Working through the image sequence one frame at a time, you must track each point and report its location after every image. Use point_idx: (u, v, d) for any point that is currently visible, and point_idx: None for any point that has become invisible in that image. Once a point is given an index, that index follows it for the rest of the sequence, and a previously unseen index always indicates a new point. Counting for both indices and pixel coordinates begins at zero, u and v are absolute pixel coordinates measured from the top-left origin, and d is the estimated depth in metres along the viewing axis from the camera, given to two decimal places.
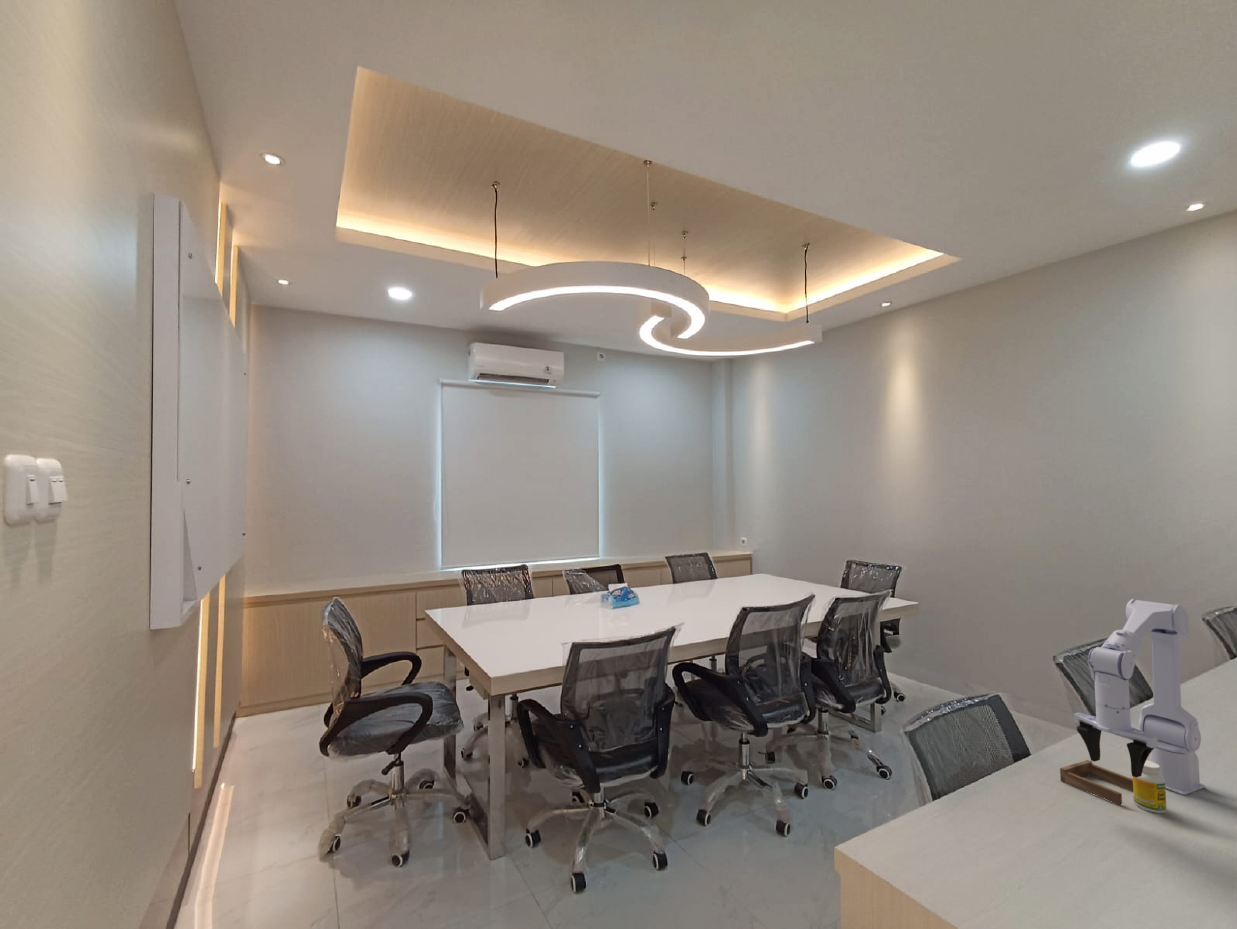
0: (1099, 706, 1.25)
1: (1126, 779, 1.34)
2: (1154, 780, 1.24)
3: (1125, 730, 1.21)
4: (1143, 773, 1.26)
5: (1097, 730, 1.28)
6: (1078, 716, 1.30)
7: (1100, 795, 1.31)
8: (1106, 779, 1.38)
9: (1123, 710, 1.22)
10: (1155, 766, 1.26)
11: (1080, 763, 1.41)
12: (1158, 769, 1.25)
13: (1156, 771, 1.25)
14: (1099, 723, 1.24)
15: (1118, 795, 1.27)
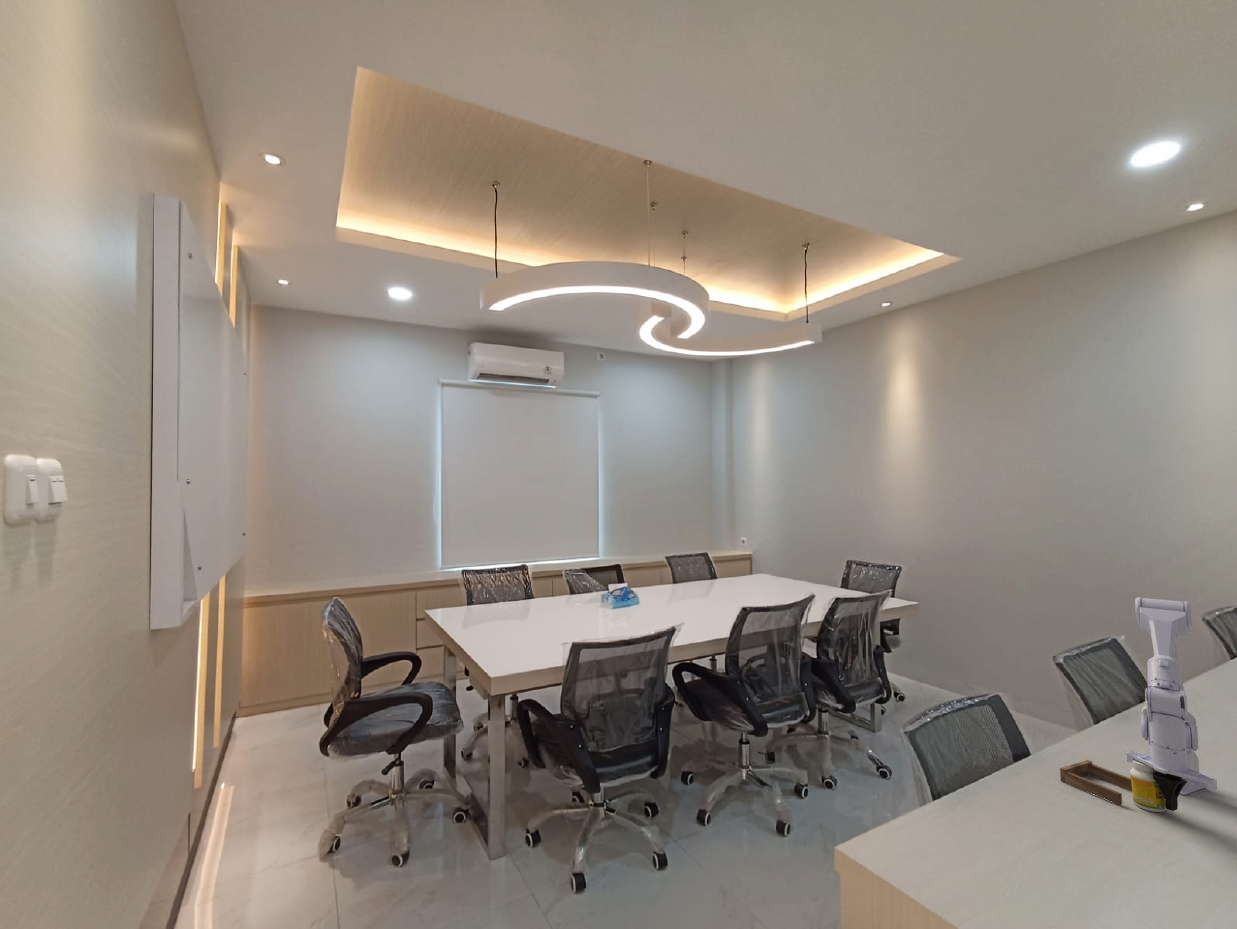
0: (1155, 746, 1.24)
1: (1126, 779, 1.34)
2: (1151, 778, 1.25)
3: (1182, 772, 1.20)
4: (1140, 772, 1.27)
5: None
6: (1131, 755, 1.29)
7: (1100, 795, 1.31)
8: (1106, 779, 1.38)
9: (1180, 751, 1.21)
10: None
11: (1080, 763, 1.41)
12: None
13: (1152, 768, 1.25)
14: (1155, 764, 1.24)
15: (1118, 795, 1.27)
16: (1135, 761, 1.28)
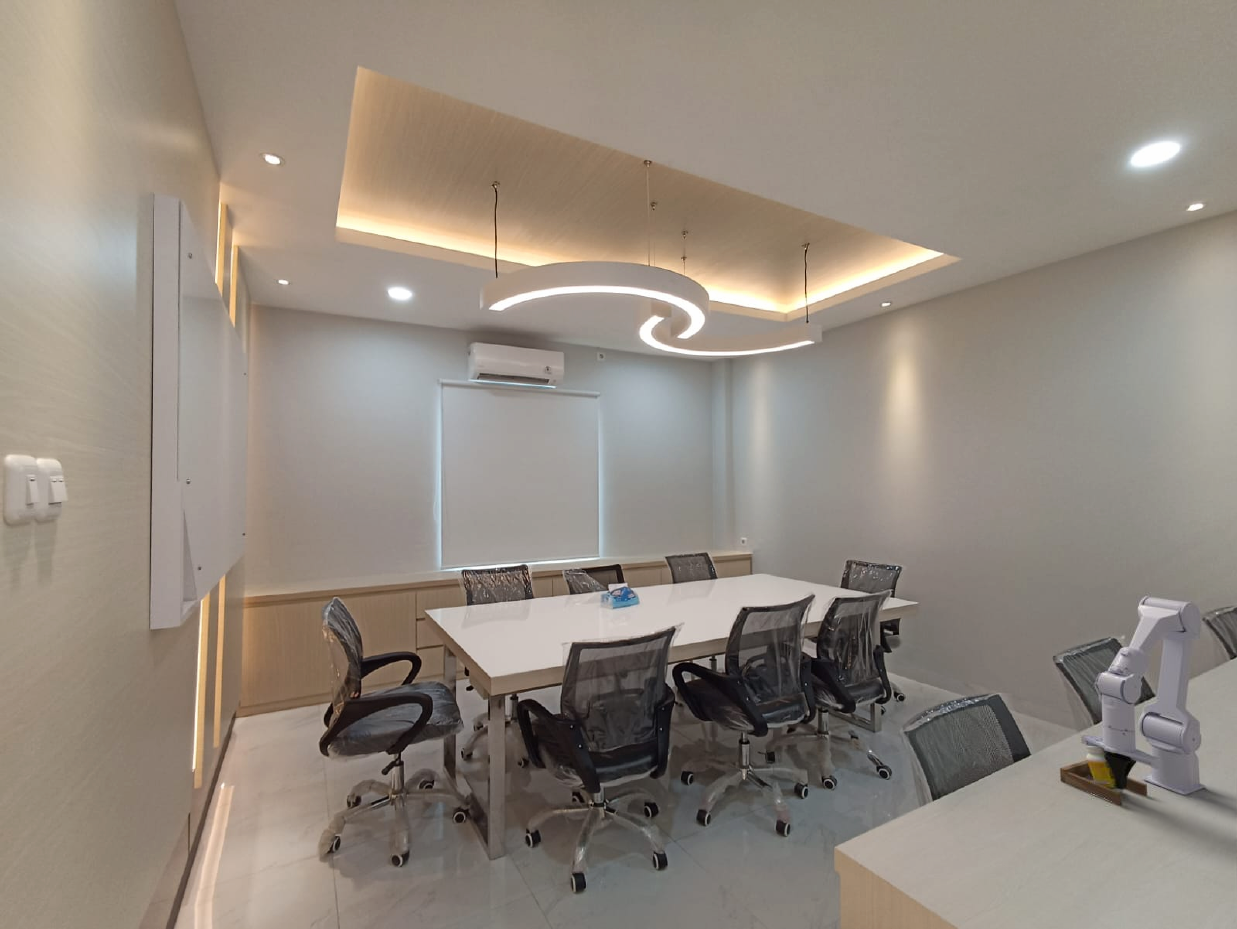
0: (1106, 728, 1.32)
1: None
2: (1102, 758, 1.33)
3: (1130, 751, 1.28)
4: (1092, 754, 1.35)
5: None
6: (1085, 737, 1.37)
7: (1100, 795, 1.31)
8: None
9: (1129, 732, 1.29)
10: None
11: (1080, 763, 1.41)
12: (1103, 748, 1.34)
13: (1102, 749, 1.34)
14: (1106, 744, 1.31)
15: (1118, 795, 1.27)
16: (1087, 745, 1.36)
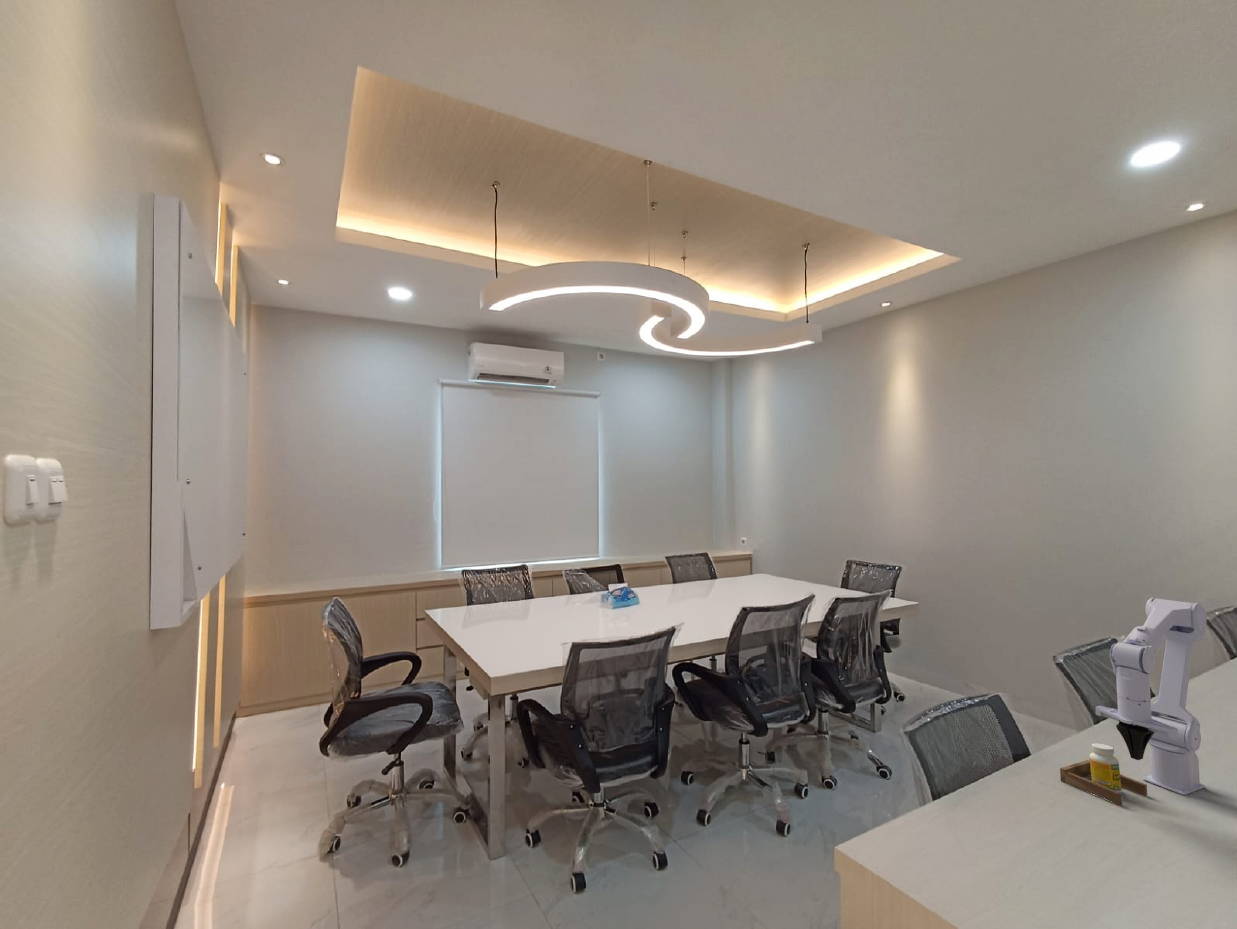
0: (1121, 699, 1.30)
1: (1126, 779, 1.34)
2: (1109, 760, 1.32)
3: (1146, 722, 1.26)
4: (1098, 755, 1.34)
5: None
6: (1100, 709, 1.35)
7: (1100, 795, 1.31)
8: None
9: (1145, 703, 1.27)
10: (1109, 748, 1.34)
11: (1080, 763, 1.41)
12: (1112, 751, 1.33)
13: (1110, 752, 1.33)
14: (1121, 715, 1.30)
15: (1118, 795, 1.27)
16: (1094, 745, 1.36)
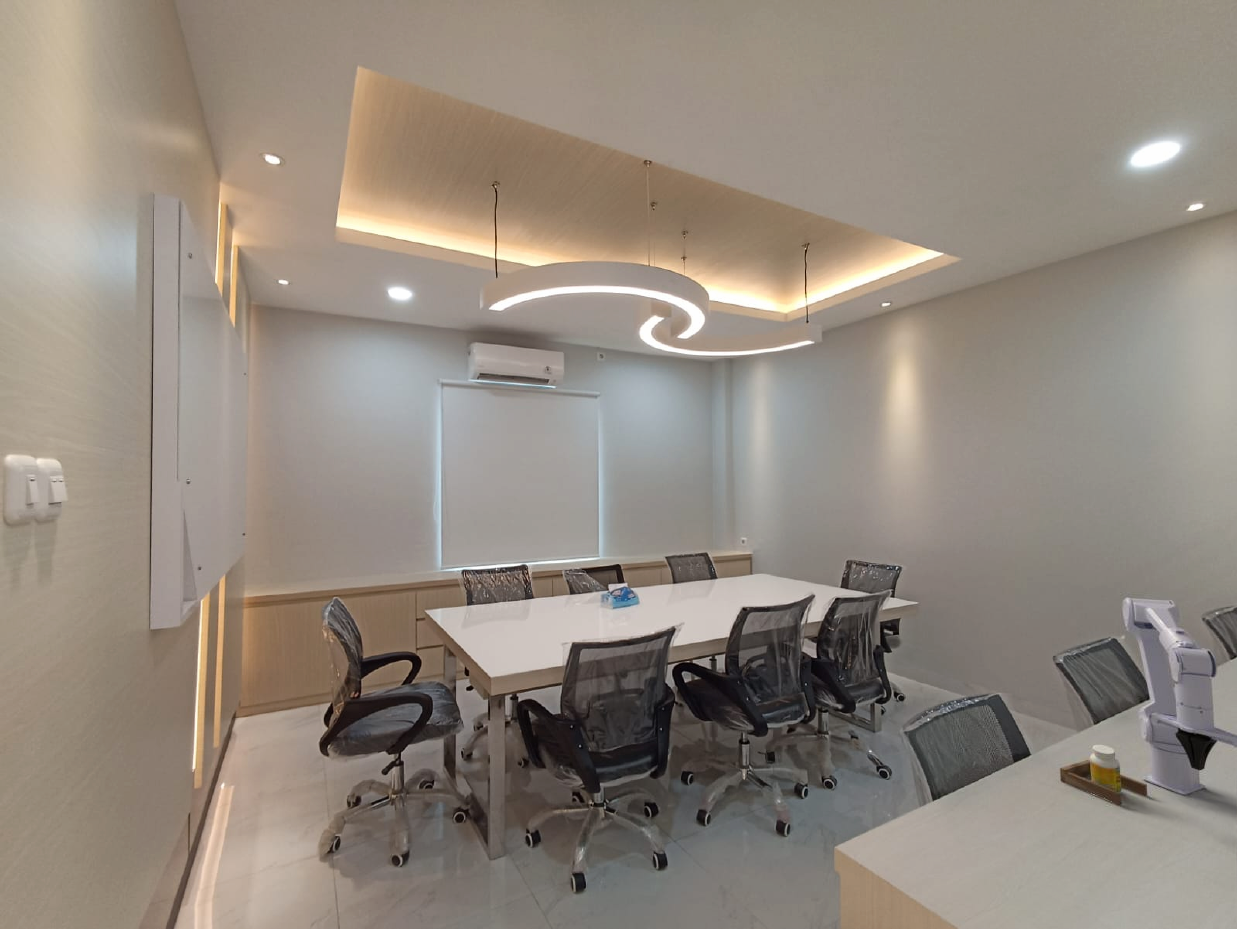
0: (1181, 706, 1.24)
1: (1126, 779, 1.34)
2: (1113, 765, 1.31)
3: (1209, 730, 1.20)
4: (1102, 760, 1.32)
5: None
6: (1156, 716, 1.29)
7: (1100, 795, 1.31)
8: None
9: (1207, 710, 1.21)
10: (1111, 751, 1.32)
11: (1080, 763, 1.41)
12: (1114, 754, 1.32)
13: (1113, 756, 1.32)
14: (1181, 723, 1.24)
15: (1118, 795, 1.27)
16: (1097, 749, 1.34)
